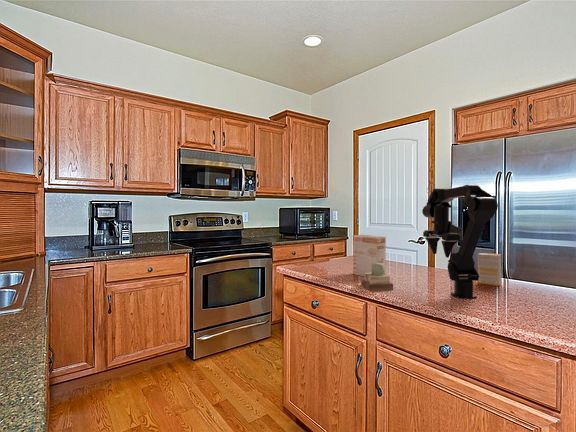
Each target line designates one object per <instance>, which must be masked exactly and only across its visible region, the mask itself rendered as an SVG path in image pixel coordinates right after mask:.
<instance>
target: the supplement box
mask: <svg viewBox="0 0 576 432" xmlns="http://www.w3.org/2000/svg"><path fill="white" fill-rule="evenodd" d="M477 273H478V275H479V279H478V281H477V284H480V285H488V286H495V287H500V286H501V285H502V254H501V253H499V254H498V253H487V252H479V253H478V254H477Z"/></svg>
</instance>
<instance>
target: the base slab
mask: <svg viewBox="0 0 576 432" xmlns="http://www.w3.org/2000/svg"><path fill="white" fill-rule="evenodd" d="M360 281H361V282H360V285H361V286H362V287H363V288H365V289H367V290H368V291H369V292H375V291H394V284H393V283H392V282H390V284H370V283H368V282H367V281H365V280H364V278H363V279H360Z"/></svg>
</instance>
